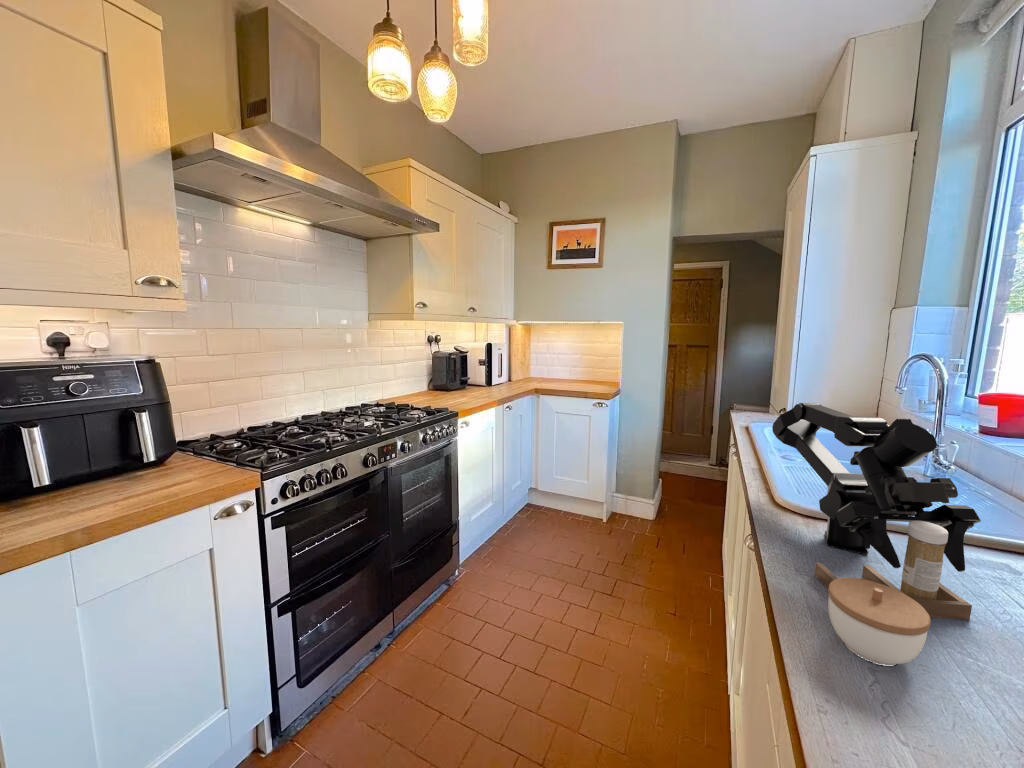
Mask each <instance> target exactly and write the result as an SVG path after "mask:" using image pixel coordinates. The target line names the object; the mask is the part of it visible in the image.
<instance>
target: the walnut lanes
mask: <svg viewBox="0 0 1024 768" xmlns="http://www.w3.org/2000/svg"><path fill="white" fill-rule="evenodd" d="M814 566H815V567H814V575H813V576H814V577H816V579H817V580H818V581H820V582H821V584H822V585H823V586H824V587H825V588H826V589H827V590H828V589H829V584H830V583H831V582H832V581H833V580H835V579H838V577H837V576H836V575H835V574H834V573H833V572H832V571H831V570H830V569H828V567H826V566H825V564H823V563H822V562H815V564H814ZM862 566H863V567H862V574H861V579H865V580H870V581H873V582H877V583H880V584H883V585H886V586H888V587H891V588H893V589H895V590H898V591H900V592H901V593H903V592H902V591H901V590H900V588H898V587H897V586H896V585H895V584H893V583H892V582H891V581H889V580H888V579H887V578H886V577H885V576H883V575H882V574H881V573H879V572H878V571H877V570H876V569H874V567H872V566H871V565H868V564H864V565H862ZM903 594H904V593H903ZM905 595H906V594H905ZM913 600H915V601H916V602H917V603H919V604H920V605H921V606H922V607H923V608H924V609H925V610H926V611H927V613H928V614H929V616H930V618H934V619H947V618H948V619H950V620H961V621H962V620H966V621H971V620H970V619H971V615H972V608H973V605H972V604H971V603H969V602H968V601H967V600H965V599H963V598H962V597H961V596H959V595H958V594H957V593H955V592H953V591H952V590H951V589H949V588H948V587H947V586H945V585H943V584H942V583H941V582H939V588H938V591H937V596H936V600H926V599H913Z"/></svg>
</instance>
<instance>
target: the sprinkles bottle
mask: <svg viewBox="0 0 1024 768" xmlns="http://www.w3.org/2000/svg"><path fill="white" fill-rule="evenodd" d="M907 536H908V537H907V541H906V542H907V544H906V552H905V555H904V559H903V560H904V561H903V567H902V574H901V583H900V588H899V590H901V591H902V592H903V593H904V594H906V595H907V596H909V597H910V598H912V599H926V600H936V596H937V591H938V588H939V583H941V581H940V580H941V576H942V575H941V574H942V569H943V565H944V564H943V563H944V555H945V554H944V549H945V545H946V543H947V540H948V531H947V530H946V529H944V528H943V527H941V526H939V525H936V524H933V523H929V522H925V521H911V522H908V526H907Z"/></svg>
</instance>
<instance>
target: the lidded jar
mask: <svg viewBox="0 0 1024 768" xmlns="http://www.w3.org/2000/svg"><path fill="white" fill-rule="evenodd" d="M837 578H838V577H837ZM827 590H828V592H827V594H828V602H827V606H828V607H827V608H828V609H827V610H828V617H829V619H830V620H829V621H830V622H831V625H832V627H833V630H834V631H835V633H836V635H837V636H838V637H839V639H840V640H841V641H842V642H843V643H845V644H844V645H845V647H846V648H847V649H848V650H849V651H850V652H851V651H852V652H851V653H853V654H854V653H855V654H857V655H859V656H860V657H863V658H864V659H866V660H869V661H871V662H874V663H878V664H885V665H896V664H898V665H902V664H907V663H909V662H911V661H913V660H914V659H915V658H917V656H919V655H920V653H921V652H922V651H923V648H924V647H925V644H926V642H927V638H928V631H929V629H930V627H931V617H930V616H929V614H928V613H927V611H926V610H925V609H924V608H923V607H922V606H921V605H920V604H919V603H917V602H916V601H915V600H913V599H912V598H910V597H909V596H907V595H905V594H903V593H901V592H900V591H898V590H895V589H893V588H891V587H888V586H886V585H883V584H880V583H877V582H873V581H870V580H865V579H863V578H859V577H839V578H838V579H835V580H833V581H832V582H831V583H830V584H829V589H827ZM855 654H854V655H855ZM857 655H856V656H857ZM860 657H859V658H860ZM864 659H863V660H864ZM866 660H865V661H866ZM896 666H897V665H896Z"/></svg>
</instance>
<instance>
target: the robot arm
mask: <svg viewBox="0 0 1024 768" xmlns="http://www.w3.org/2000/svg"><path fill="white" fill-rule="evenodd" d="M771 428H772V433H773V434H774V436H775V438H776V439H777V440H779V442H781V443H782V444H784V445H786V446H788V447H791V448H794V449H796V450H797V452H798V453H799V454H800V455H801V456H802V458H804V460H805V461H806V463H808V464H809V466H810V467H811V468H812V470H814V472H815V473H816V474H817V475H818V476H819V477H820V478H821V480H822V481H823V483H824V484H825V485H826V486H827V492H826V493H827V494H826V495H824V496H823V497H822V498H820V499H819V500H818V502H819V503H818V504H819V511H821V512H822V513H823V514H825V515H826V516H827V517H828V518H827V526H826V530H825V531H824V535H825V542H826V543H825V544H826V546H828V547H830V548H836V549H840V550H844V551H848V552H853V553H857V554H861V555H866V556H867V555H868V553H869V552H868V550H869V549H871V547H872V548H873V549H874V550H875V551H877V553H878V554H879V555H881V557H883V559H884V560H885V561H886V562H888V563H889V564H890V565H891V566H892V567H893V569H899V568H902V567H901V566H902V565H901V563H900V560H899V556H898V554H897V552H896V550H895V547H894V545H893V543H892V541H891V539H890V537H889V534H888V532H887V522H901V523H902V522H903V523H904V522H905V523H906V522H907V523H909V522H911V521H925V522H929V523H933V524H936V525H939V526H941V527H943V528H944V529H946V530H947V531H948V540H947V543H946V545H945V549H944V554H943V555H945V557H946V558H947V560H948V561H949V563H950V564H951V566H952V567H954V569H955V570H956V571H957V572H959V573H960V572H961V573H962V572H965V571H966V562H965V561H966V560H965V548H964V546H965V545H964V541H965V534H966V533H967V531H968V530H970V529H972V528H974V526H975V524H977V523H980V522H982V520H981V518H980V517H979V515H978V513H977V512H976V510H975V509H974V508H973V507H970V506H968V505H962V504H950V499H956V498H957V497H958V496H959V493H958V488H957V486H956V485H955V483H954V482H953V480H952V479H951V477H932V478H931V479H930V481H928V482H926V481H923V482H922V481H918V480H917V479H916V478H915V477H912V476H911V477H909V476H907V475H906V473H905V470H904V469H903V468H906V467H910V466H912V464H915V463H916V462H919V460H921V459H923V458H924V457H926V456H927V455H929V454H930V453H932V452H933V451H935V450H936V448H937V446H938V445H937V444H938V442H937V439H936V437H935V436H934V434H932V433H930V432H929V431H928V429H926V428H924V427H922V426H920V425H918V424H914V423H913V421H912V420H911V418H896V419H895V420H893V421H892V422H891V424H888V421H887V420H885V419H884V418H882V417H878V416H877V417H876V416H875V417H874V416H865V415H864V416H861V415H860V416H859V415H850V414H847V413H844V412H842V411H838V410H835V409H832V408H829V407H827V406H823V405H822V404H820V403H818V402H799V403H796V404H795V405H794V406H793V407H792V409H789V410H787V411H786V412H783V413H782V414H780V415H778V417H777V418H776V420H775V421H774V422H773V424H772V427H771ZM821 428H823V429H825V430H827V431H830V432H832V433H833V434H834V435H833V436H834V439H836V440H837V441H838V442H840V443H842V444H843V445H844V446H847V447H864V448H862V449H861V450H860V451H853V452H854V453H853V455H852V457H851V458H850V461H849V464H850V465H851V466H859V468H860V471H861V472H860V473H855V472H854V473H853V472H852V473H851V472H850V471H848V469H846V467H845V466H844V465H843V464H842V463H840V461H839V460H838V459H837V458H836V457H835V456H834V455H833V454H832V453H831V452H830V451H829V450H828V449H827V448H826V446H825V445H823V444H822V443H821V442H820V440H819V439H818V438H817V437H816V436H817V435H816V434H817V432H818V431H819V430H820V429H821ZM949 498H950V499H949ZM933 503H942V504H943V505H941V506H939V507H936V508H934V509H932V510H924V509H925V508H927V509H928V508H931V507H932V506H934V505H933Z"/></svg>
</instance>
